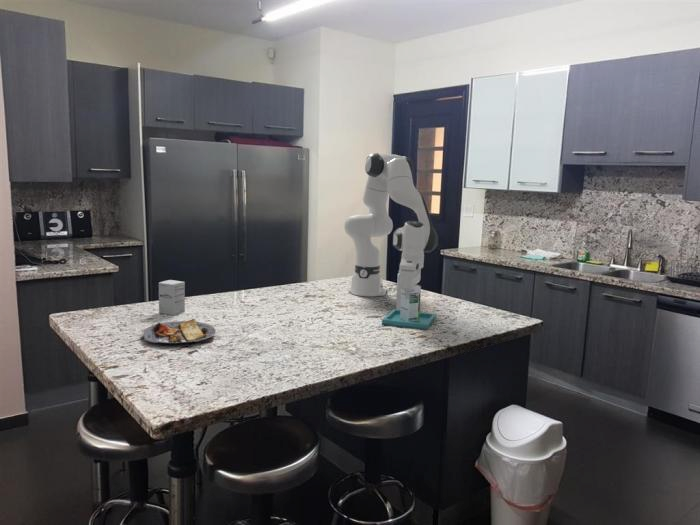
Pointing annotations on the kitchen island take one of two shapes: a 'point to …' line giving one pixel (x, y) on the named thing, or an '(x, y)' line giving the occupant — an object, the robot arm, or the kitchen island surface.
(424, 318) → the tray
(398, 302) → the milk carton
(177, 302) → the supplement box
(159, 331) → the food plate
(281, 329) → the kitchen island surface
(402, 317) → the syrup box
